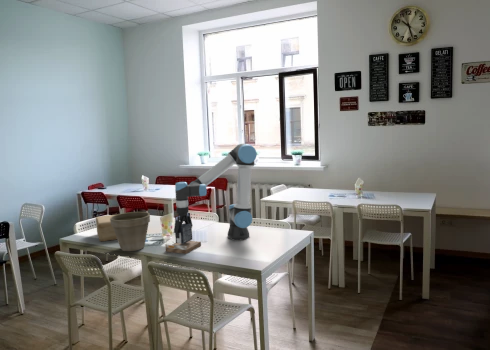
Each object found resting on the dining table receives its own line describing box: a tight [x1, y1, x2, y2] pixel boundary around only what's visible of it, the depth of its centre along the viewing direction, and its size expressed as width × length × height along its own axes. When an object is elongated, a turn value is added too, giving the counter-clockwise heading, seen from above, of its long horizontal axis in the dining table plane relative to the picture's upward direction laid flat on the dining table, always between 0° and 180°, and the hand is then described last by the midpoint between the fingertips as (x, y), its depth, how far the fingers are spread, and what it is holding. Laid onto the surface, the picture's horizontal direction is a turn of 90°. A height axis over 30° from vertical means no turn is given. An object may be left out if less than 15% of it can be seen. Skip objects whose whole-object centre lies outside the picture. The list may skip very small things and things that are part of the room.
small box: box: [174, 222, 193, 244], centre depth 264 cm, size 11×6×10 cm, turn 155°
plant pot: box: [110, 211, 151, 252], centre depth 268 cm, size 25×25×22 cm
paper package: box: [95, 214, 117, 242], centre depth 302 cm, size 27×26×14 cm
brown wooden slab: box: [164, 240, 202, 255], centre depth 264 cm, size 15×18×4 cm
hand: (184, 240), depth 265 cm, fingers closed on small box, 10 cm apart
